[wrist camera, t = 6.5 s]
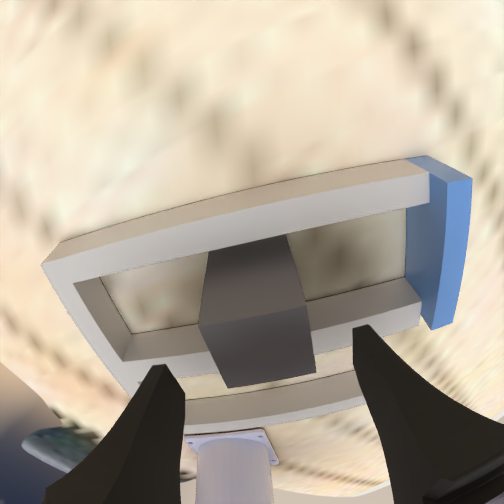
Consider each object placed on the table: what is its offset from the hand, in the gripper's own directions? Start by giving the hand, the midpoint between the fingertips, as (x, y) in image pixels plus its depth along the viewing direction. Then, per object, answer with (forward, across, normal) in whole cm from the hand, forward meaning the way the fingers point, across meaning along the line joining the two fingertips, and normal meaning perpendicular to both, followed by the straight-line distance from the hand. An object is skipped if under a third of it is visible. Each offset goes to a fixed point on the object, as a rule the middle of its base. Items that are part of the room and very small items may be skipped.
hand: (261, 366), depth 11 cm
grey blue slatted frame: (+7, 0, +4) cm, 8 cm away
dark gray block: (+7, 0, 0) cm, 7 cm away
